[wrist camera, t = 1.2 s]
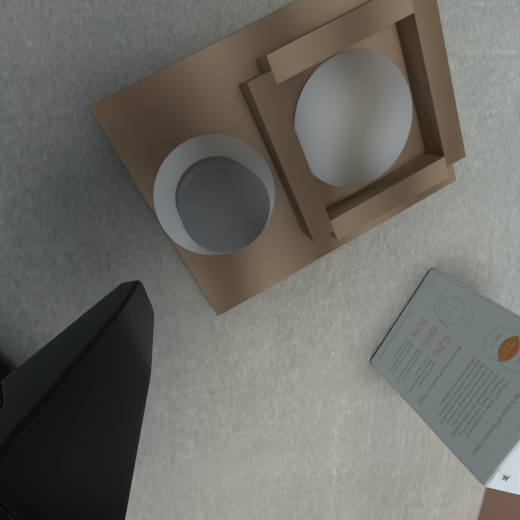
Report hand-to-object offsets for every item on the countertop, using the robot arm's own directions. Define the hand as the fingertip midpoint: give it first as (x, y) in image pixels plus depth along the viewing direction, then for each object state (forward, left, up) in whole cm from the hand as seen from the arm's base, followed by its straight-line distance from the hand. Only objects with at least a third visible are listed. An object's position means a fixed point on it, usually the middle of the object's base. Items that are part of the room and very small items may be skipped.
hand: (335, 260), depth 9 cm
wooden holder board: (+4, -1, -13) cm, 13 cm away
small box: (+8, -17, -13) cm, 22 cm away
